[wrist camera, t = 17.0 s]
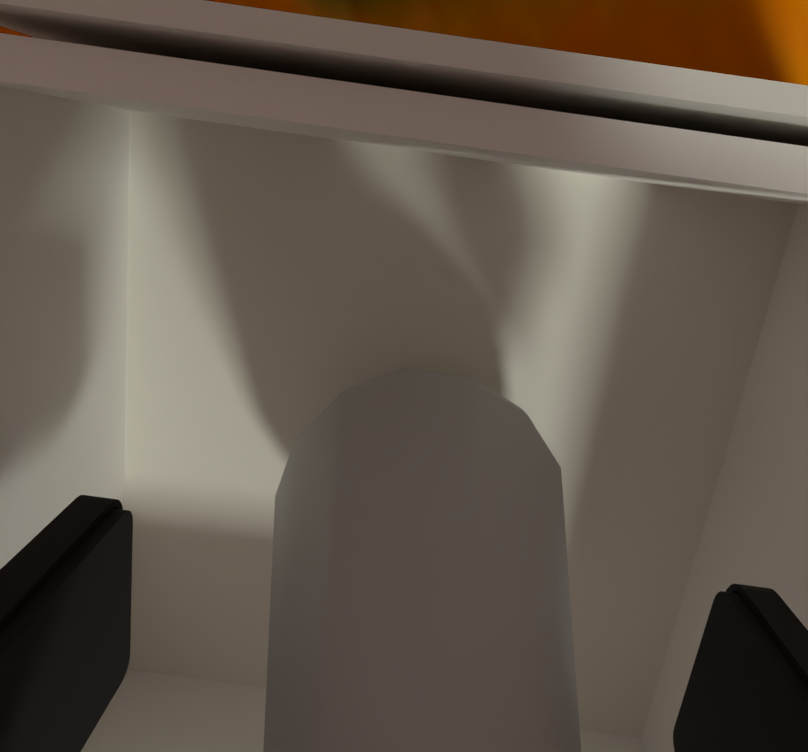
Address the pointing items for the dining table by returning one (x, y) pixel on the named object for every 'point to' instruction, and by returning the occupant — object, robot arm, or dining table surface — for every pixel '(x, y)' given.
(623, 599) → the carton
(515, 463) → the salt shaker
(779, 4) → the dining table surface
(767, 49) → the dining table surface
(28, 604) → the robot arm
